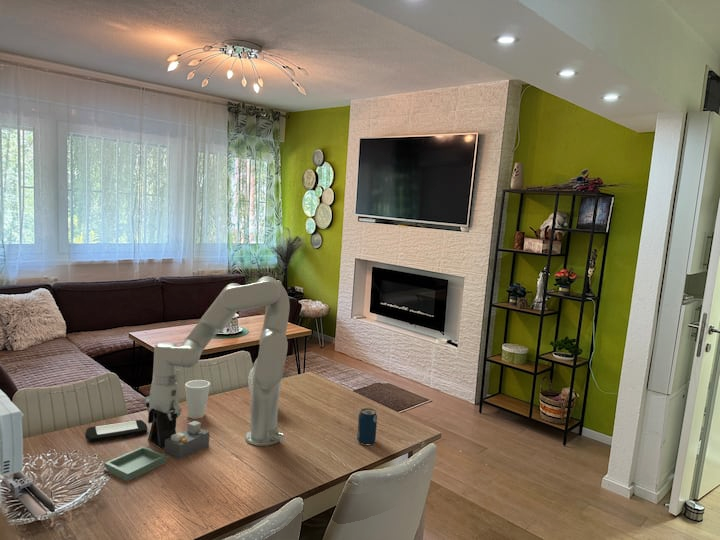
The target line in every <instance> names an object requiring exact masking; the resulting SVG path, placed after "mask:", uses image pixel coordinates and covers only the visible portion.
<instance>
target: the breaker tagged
mask: <svg viewBox="0 0 720 540" xmlns="http://www.w3.org/2000/svg"><path fill="white" fill-rule="evenodd" d="M183 438H185V435H184V434H182V433H181V432H176V433H175V434H173V435H171V440H173V441H176V442H179V441H181V440H182V439H183Z"/></svg>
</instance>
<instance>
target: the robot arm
mask: <svg viewBox="0 0 720 540" xmlns="http://www.w3.org/2000/svg"><path fill="white" fill-rule="evenodd" d="M263 307H265V313H264V317H263V318H264V319H263V324H262V328H261V333H260V336H259V348H258V355H257V358H256V359H255V361H254V362H253V367H252V368H253V385H252V386H253V391H252V396H251V409H250V410H251V411H250V412H251V413H250V425H249V426H250V429H249V431H247V433H246V434H245V441H246V442H247V443H248V444H251V445H253V446H256V447H257V446H258V447H259V446H260V447H266V446H271V445H274V444H277V443H278V442H280V443H281V442H283V441H284V437H285V434H284V433H282V432H280V427H278V412H279V411H278V410H279V398H280V396H279V395H280V392H279V383H280V381H281V382H282V379H283V374H284V369H285V365H286V359H287V354H288V345H289V343H288V339H287V329H288V324H289V323H288V322H289V317H290V309H291V307H290V299H289V295H288V292H287V290H286V289H285V287H284V285H283V284H282V283H280V282H279V280H278V279H276V278H274V277H272V276H268V275H265V276H262V277H260V278H259V279H258V280H257V281H256V282H253V283H249V284H244V285H241V284H240V283H235V282H231V283H229V284H227V285H226V286H225V287H224V288H223V289H222V290H221V292H220V293H219V295H217V297H216V298H215V300H213V302H212V304H211V305H210V306H209V307H208V309H207V310H206V311H205V312H204V314H203V315H202V316H201V318H200V320H199V321H198V322H197V323H196V325H195V327H194V328H193V329H192V330H191V331H190V333H189V334H188V335H187V337H186V338H185V339H184V341H183V342H181V343H182V344H181V345H180V346H178V345H177V344H175V343H173V342H167V341H165V342H159V343H157V344H155V346H154V349H153V351H154V352H153V365H152V367H153V368H152V381H151V384H150V391H149V395H148V396H145V397H144V399H145V400H144V401H145V405H146V408H147V412H148V417H147V418H148V419H147V423H148V424H152V422H153V413H154V411H156V410H158V411H160V412H163V413H166V414H167V415H168V418H169V420H168V425H167V431H171V430H173V429H175V430H176V428H177V419H178V418H179V416H180V415H181V413H182V410H183V408H182V407H181V406H180V405H179V400H180V399H179V387H178V383H177V367H178V368H179V367H180V368H183V369H185V368H186V369H188V368H189V369H190V368H192V367H195V366H196V365H197V364H198V363H199V360H200V358H201V354H202V352H203V351H204V350H205V349H206V347H207V345H209V343H210V342H211V340H212V339H213V338H214V337H215V336H216V335H217V334H219V333H220V332H221V333H222V331H223V330H225V328H226V326H227V325H228V324H229V323H230V322H231V320H232V319H233V318H234V316H235V315H236V314H237V312H241V311H247V310H252V309H256V308H263ZM170 409H171V410H170ZM169 410H170V411H169ZM171 413H173V415H171Z"/></svg>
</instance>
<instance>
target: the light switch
mask: <svg viewBox="0 0 720 540" xmlns="http://www.w3.org/2000/svg"><path fill="white" fill-rule="evenodd" d="M146 433H148V425H147V424H146V422H144V421H143V420H141V419H136V420H129V421H128V420H126V421H120V422H113V423H107V424H101V425H94V426H90V427H87V428H86V430H85V437H86V439H87V440H88V441H89V442H91V443H92V442H98V441H106V440H112V439H118V438H124V437H125V438H126V437H131V436H135V435H140V434H146Z"/></svg>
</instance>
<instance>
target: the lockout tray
mask: <svg viewBox="0 0 720 540" xmlns="http://www.w3.org/2000/svg"><path fill="white" fill-rule="evenodd" d="M166 463H167V455H166V454H164V453H161V452H159V451H157V450H154V449H152V448H149V447H147V446H145V445H143V446H140V447H138V448H136V449H133V450H130V451H129V452H127V453H124V454H122V455H120V456H118V457H115V458H112V459H110V460H109V461H106V462H104V467H106V468H107V470H108V471H109V472H110V473H109V472H108V473H109V474H111V475H113V476H116V477H117V478H119V479H121V480H124V481H125V482H130V481H132V480H134V479H136V478H138V477H140V476H142V475H144V474H146V473H149V472H150V471H152V470H155V469H156V468H158V467H161V466H162V465H164V464H166ZM104 467H103V468H104Z"/></svg>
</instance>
